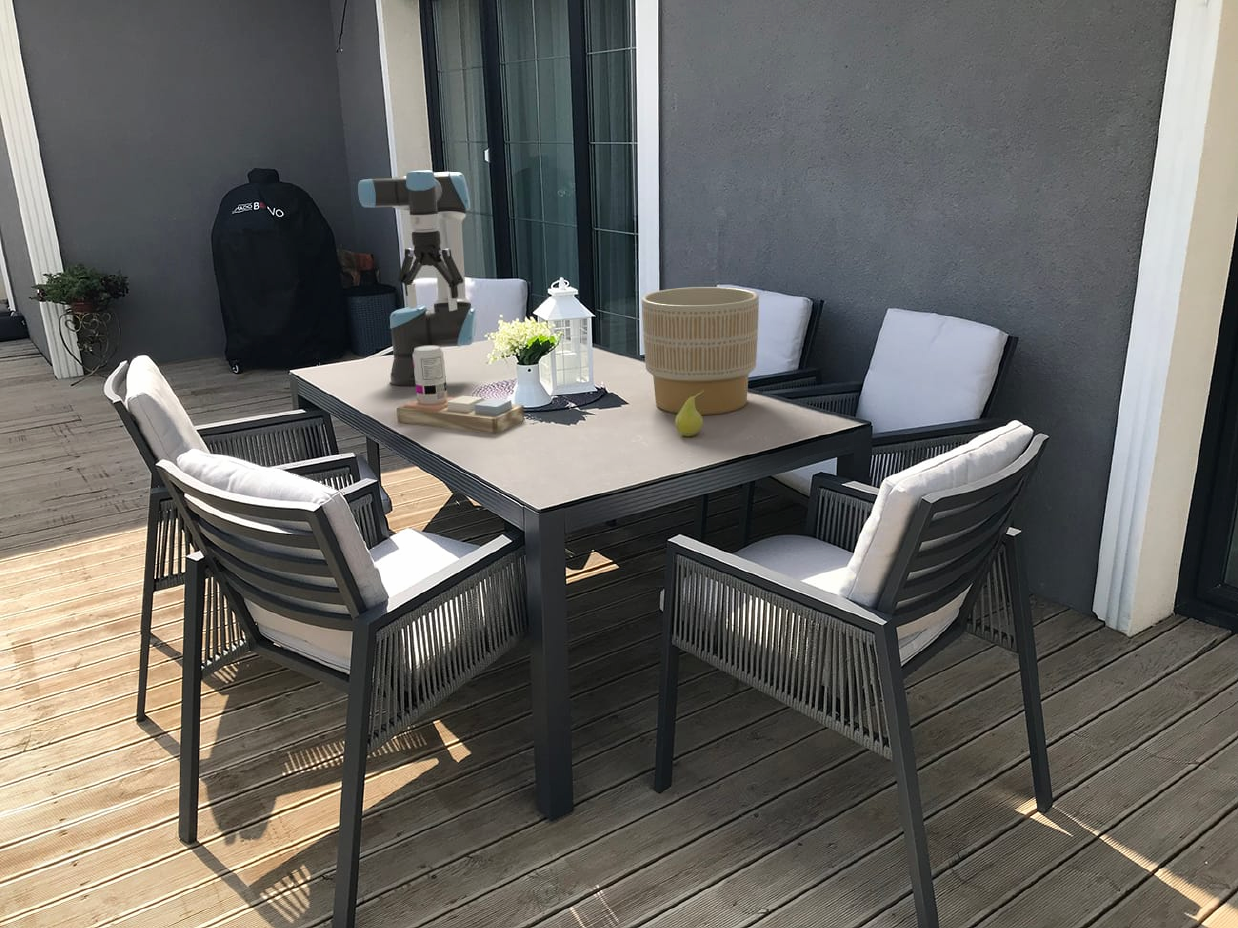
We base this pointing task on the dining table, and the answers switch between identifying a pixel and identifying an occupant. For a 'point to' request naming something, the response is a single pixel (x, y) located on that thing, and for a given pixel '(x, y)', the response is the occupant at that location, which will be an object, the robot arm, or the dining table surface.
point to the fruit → (689, 418)
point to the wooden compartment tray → (462, 419)
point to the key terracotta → (435, 407)
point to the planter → (701, 346)
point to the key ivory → (463, 403)
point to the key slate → (493, 406)
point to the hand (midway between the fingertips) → (433, 309)
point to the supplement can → (430, 375)
